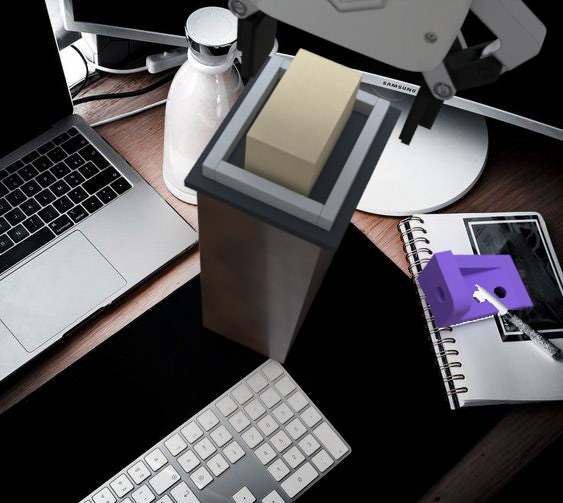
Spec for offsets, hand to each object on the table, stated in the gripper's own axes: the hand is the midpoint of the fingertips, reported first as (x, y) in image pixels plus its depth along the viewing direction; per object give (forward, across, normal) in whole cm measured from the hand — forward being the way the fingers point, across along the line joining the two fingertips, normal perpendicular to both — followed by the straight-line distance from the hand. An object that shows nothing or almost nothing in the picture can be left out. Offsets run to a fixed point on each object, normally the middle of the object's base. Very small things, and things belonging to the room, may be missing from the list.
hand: (333, 93), depth 35 cm
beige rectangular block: (+10, -2, +4) cm, 11 cm away
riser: (+39, -3, +4) cm, 40 cm away
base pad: (+11, -2, +4) cm, 12 cm away
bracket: (+40, +19, +15) cm, 46 cm away
